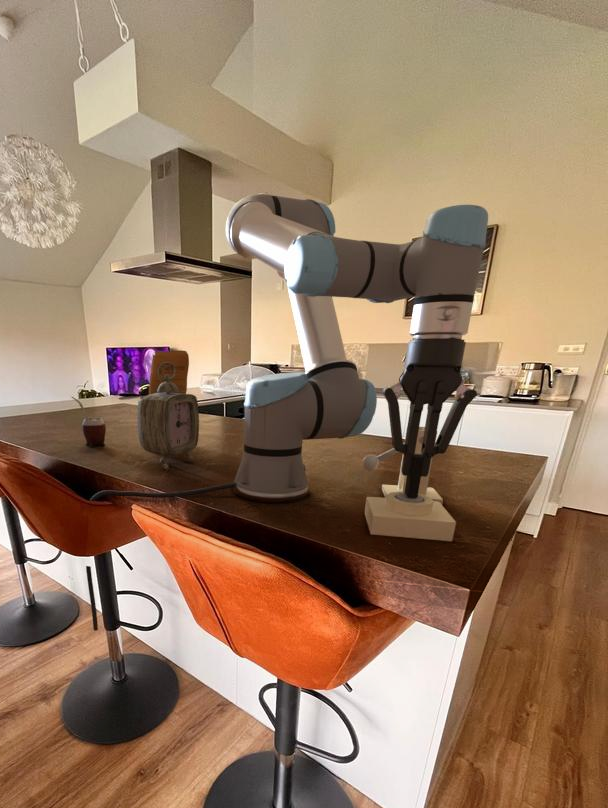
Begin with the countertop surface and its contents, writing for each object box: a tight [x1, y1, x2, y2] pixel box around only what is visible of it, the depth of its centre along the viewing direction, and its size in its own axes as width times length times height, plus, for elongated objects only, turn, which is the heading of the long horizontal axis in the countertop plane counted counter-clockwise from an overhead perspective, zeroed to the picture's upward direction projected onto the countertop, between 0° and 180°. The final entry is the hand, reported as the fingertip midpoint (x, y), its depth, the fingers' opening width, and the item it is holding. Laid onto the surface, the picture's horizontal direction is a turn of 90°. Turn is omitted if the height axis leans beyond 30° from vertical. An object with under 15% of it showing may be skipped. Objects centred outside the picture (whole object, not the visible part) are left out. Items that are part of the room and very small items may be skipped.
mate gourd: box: [71, 396, 107, 448], centre depth 129 cm, size 8×8×15 cm
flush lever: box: [362, 428, 425, 471], centre depth 83 cm, size 13×3×3 cm
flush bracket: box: [381, 426, 444, 506], centre depth 83 cm, size 10×8×14 cm
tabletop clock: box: [136, 362, 200, 471], centre depth 104 cm, size 14×9×25 cm, turn 150°
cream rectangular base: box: [364, 492, 457, 542], centre depth 69 cm, size 12×10×5 cm
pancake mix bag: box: [148, 349, 190, 395], centre depth 125 cm, size 7×19×28 cm, turn 148°
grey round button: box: [396, 493, 423, 503], centre depth 69 cm, size 4×4×2 cm
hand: (410, 494), depth 68 cm, fingers closed
